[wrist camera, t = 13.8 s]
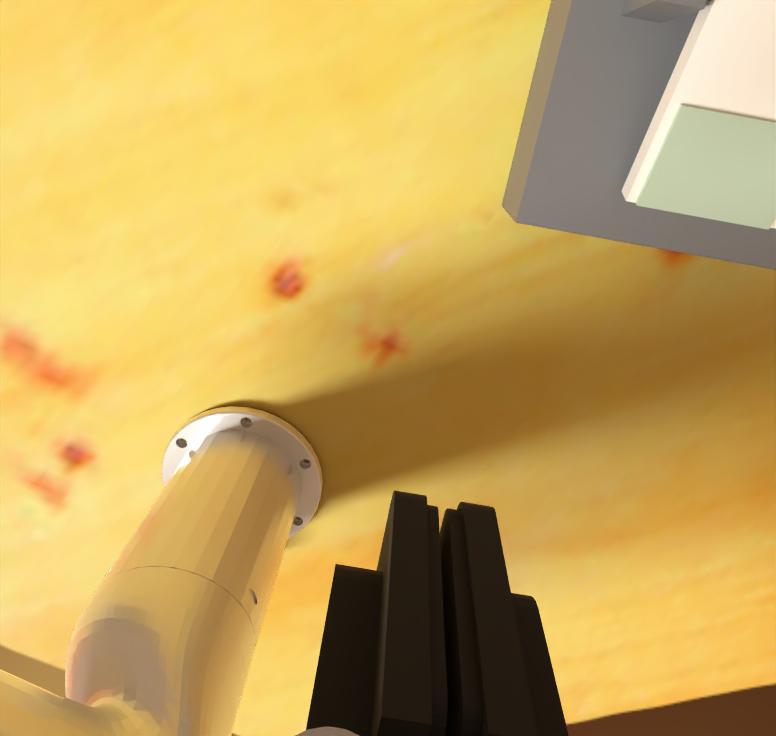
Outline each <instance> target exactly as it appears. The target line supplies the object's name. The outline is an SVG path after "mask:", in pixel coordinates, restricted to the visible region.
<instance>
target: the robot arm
mask: <svg viewBox="0 0 776 736" xmlns="http://www.w3.org/2000/svg"><path fill="white" fill-rule="evenodd" d="M248 418H249V419H248ZM306 459H307V460H306ZM162 479H163V484H164V488H163V490H162V491H161V493H160V494H159V496H158V497H157V499H156V500H155V502H154V503H153V505H152V506H151V508H150V509H149V511H148V512H147V514H146V515H145V517H144V518H143V520H142V521H141V523H140V524H139V526H138V527H137V529H136V530H135V532H134V533H133V535H132V536H131V538H130V540H129V541H128V543H127V544H126V546H125V547H124V549H123V550H122V552H121V553H120V555H119V556H118V558H117V559H116V561H115V562H114V564H113V565H112V567H111V568H110V570H109V571H108V573H107V574H106V576H105V577H104V579H103V580H102V582H101V583H100V585H99V586H98V588H97V589H96V591H95V592H94V594H93V595H92V597H91V598H90V600H89V601H88V603H87V605H86V606H85V608H84V610H83V611H82V613H81V615H80V617H79V619H78V621H77V622H76V625H75V628H74V631H73V633H72V636H71V639H70V644H69V648H68V653H67V659H66V675H65V689H66V697H60V696H58V695H56V694H54V693H51V692H49V691H47V690H45V689H43V688H41V687H38V686H36V685H34V684H32V683H29V682H27V681H25V680H23V679H21V678H19V677H16V676H14V675H12V674H10V673H7V672H5V671H3V670H1V669H0V736H231V734H232V730H233V726H234V721H235V717H236V713H237V710H238V706H239V702H240V699H241V695H242V691H243V688H244V684H245V681H246V677H247V674H248V670H249V667H250V664H251V660H252V657H253V653H254V650H255V646H256V643H257V640H258V636H259V633H260V630H261V626H262V623H263V620H264V616H265V613H266V610H267V606H268V603H269V600H270V596H271V593H272V590H273V586H274V583H275V580H276V576H277V573H278V570H279V566H280V563H281V560H282V556H283V553H284V550H285V546H286V543H287V540H288V538H289V537H291V536H293V535H295V534H296V533H297V532H299V531H300V530H301V529H303V528H304V527H305V526H306V525H307V523H308V522H309V521H310V520H311V519H312V517H313V515H314V513H315V512H316V510H317V508H318V505H319V501H320V498H321V493H322V486H323V479H322V470H321V466H320V463H319V460H318V457H317V455H316V453H315V452H314V450H313V448H312V446H311V445H310V444H309V442H308V441H307V440H306V439H305V437H304V436H303V435H302V434H301V433H300V432H299V431H298V430H296V429H295V428H294V427H293V426H292V425H290V424H289V423H287V422H286V421H284V420H282V419H281V418H279V417H277V416H275V415H272V414H270V413H267V412H265V411H262V410H258V409H253V408H248V407H235V406H229V407H221V408H215V409H212V410H208V411H205V412H202V413H200V414H198V415H197V416H195V417H193V418H191V419H190V420H188V421H187V422H186V423H185V424H184V425H183V426H182V427H180V428H179V430H178V431H177V432H176V433H175V435H174V436H173V437H172V439H171V440H170V442H169V444H168V446H167V448H166V450H165V453H164V457H163V461H162ZM296 736H568V732H567V727H566V723H565V719H564V715H563V710H562V706H561V702H560V698H559V694H558V689H557V685H556V681H555V677H554V673H553V668H552V664H551V660H550V656H549V652H548V647H547V643H546V639H545V635H544V631H543V626H542V622H541V618H540V614H539V610H538V607H537V604H536V601H535V600H534V598H533V597H532V596H526V595H520V594H514V593H511V591H510V586H509V581H508V576H507V570H506V565H505V560H504V554H503V549H502V544H501V539H500V533H499V528H498V523H497V518H496V512H495V509H494V508H493V507H489V506H483V505H477V504H471V503H465V502H460V503H459V505H458V508H457V510H454V509H448V508H447V509H446V511H445V514H444V518H443V522H442V526H441V530H440V534H439V515H438V507H436V506H430V505H427V497H426V496H424V495H418V494H412V493H406V492H400V491H394V492H393V495H392V500H391V504H390V509H389V514H388V519H387V524H386V528H385V533H384V538H383V543H382V547H381V552H380V557H379V562H378V567H377V571H375V570H369V569H363V568H357V567H351V566H345V565H339V564H336V566H335V571H334V577H333V582H332V588H331V594H330V599H329V605H328V610H327V616H326V621H325V627H324V633H323V638H322V644H321V649H320V655H319V661H318V666H317V672H316V677H315V683H314V688H313V694H312V700H311V705H310V711H309V716H308V722H307V728H306V731H304V732H302V733H300V734H298V735H296Z"/></svg>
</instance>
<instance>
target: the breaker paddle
mask: <svg viewBox="0 0 776 736" xmlns="http://www.w3.org/2000/svg"><path fill="white" fill-rule="evenodd" d="M622 194H623V196H624V198H625V200H626V201H628V202H633V203H636V205H637V206H642V207H648V208H653V209H659V210H664V211H669V212H675V213H680V214H686V215H691V216H697V217H702V218H708V219H713V220H719V221H724V222H729V223H735V224H740V225H746V226H751V227H757V228H762V229H768V230H769V228H775V229H776V0H707V2H706V5H705V8H704V9H703V10H700V11H699V13H698V15H697V17H696V19H695V22H694V24H693V26H692V29H691V31H690V33H689V36H688V38H687V40H686V43H685V45H684V47H683V50H682V52H681V54H680V57H679V59H678V61H677V63H676V66H675V68H674V70H673V73H672V75H671V77H670V80H669V82H668V84H667V87H666V89H665V91H664V94H663V96H662V98H661V101H660V103H659V105H658V107H657V110H656V112H655V114H654V117H653V119H652V121H651V124H650V126H649V128H648V131H647V133H646V135H645V138H644V140H643V142H642V145H641V147H640V149H639V151H638V154H637V156H636V158H635V161H634V163H633V165H632V168H631V170H630V172H629V175H628V177H627V179H626V182H625V184H624V186H623V189H622Z"/></svg>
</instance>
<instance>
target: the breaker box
mask: <svg viewBox="0 0 776 736" xmlns="http://www.w3.org/2000/svg"><path fill="white" fill-rule="evenodd" d="M706 2H707V0H551V5H550V9H549V13H548V17H547V21H546V25H545V29H544V34H543V38H542V42H541V46H540V50H539V54H538V58H537V62H536V67H535V71H534V75H533V79H532V83H531V87H530V91H529V96H528V100H527V104H526V108H525V112H524V116H523V120H522V124H521V129H520V133H519V137H518V141H517V145H516V149H515V153H514V158H513V162H512V166H511V170H510V174H509V178H508V182H507V187H506V191H505V195H504V199H503V203H502V206H503V208H504V209H505V210H506V211H507V213H508V214H509V215H510V216H511V217H512V219H513V220H514V221H515V222H516V223H521V224H527V225H532V226H538V227H543V228H549V229H554V230H560V231H565V232H571V233H576V234H582V235H587V236H593V237H598V238H604V239H609V240H615V241H620V242H626V243H631V244H637V245H642V246H648V247H653V248H659V249H664V250H670V251H675V252H681V253H687V254H692V255H698V256H703V257H709V258H714V259H720V260H725V261H731V262H736V263H742V264H747V265H753V266H758V267H764V268H769V269H775V270H776V229H775V228H769V230H768V229H762V228H757V227H751V226H746V225H740V224H735V223H729V222H724V221H719V220H713V219H708V218H702V217H697V216H691V215H686V214H680V213H675V212H669V211H664V210H659V209H653V208H648V207H642V206H637V205H636V203H633V202H628V201H626V200H625V198H624V196H623V194H622V189H623V186H624V184H625V182H626V179H627V177H628V175H629V172H630V170H631V168H632V165H633V163H634V161H635V158H636V156H637V154H638V151H639V149H640V147H641V145H642V142H643V140H644V138H645V135H646V133H647V131H648V128H649V126H650V124H651V121H652V119H653V117H654V114H655V112H656V110H657V107H658V105H659V103H660V101H661V98H662V96H663V94H664V91H665V89H666V87H667V84H668V82H669V80H670V77H671V75H672V73H673V70H674V68H675V66H676V63H677V61H678V59H679V57H680V54H681V52H682V50H683V47H684V45H685V43H686V40H687V38H688V36H689V33H690V31H691V29H692V26H693V24H694V22H695V19H696V17H697V15H698V13H699V11H700V10H703V9H704V8H705V5H706Z"/></svg>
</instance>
